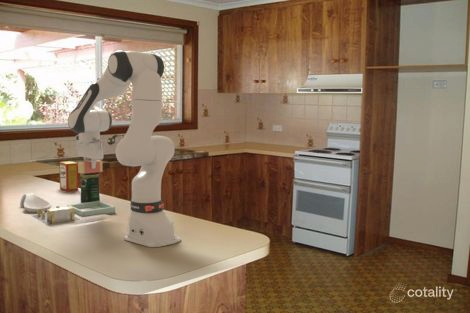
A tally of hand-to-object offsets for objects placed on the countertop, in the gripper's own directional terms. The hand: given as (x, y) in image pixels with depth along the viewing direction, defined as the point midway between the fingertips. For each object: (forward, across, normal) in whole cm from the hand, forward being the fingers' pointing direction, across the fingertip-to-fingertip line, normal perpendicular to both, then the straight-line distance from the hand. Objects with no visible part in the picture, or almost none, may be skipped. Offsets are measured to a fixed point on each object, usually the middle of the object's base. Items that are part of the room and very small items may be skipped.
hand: (90, 167), depth 218 cm
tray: (+21, 0, 0) cm, 21 cm away
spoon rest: (+22, +21, +19) cm, 35 cm away
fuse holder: (+21, -3, +18) cm, 28 cm away
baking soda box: (+21, +58, -14) cm, 63 cm away
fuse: (+2, 0, 0) cm, 2 cm away
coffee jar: (+21, +18, -8) cm, 29 cm away
